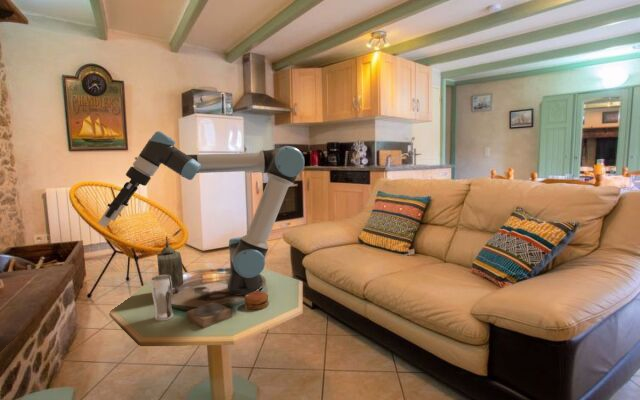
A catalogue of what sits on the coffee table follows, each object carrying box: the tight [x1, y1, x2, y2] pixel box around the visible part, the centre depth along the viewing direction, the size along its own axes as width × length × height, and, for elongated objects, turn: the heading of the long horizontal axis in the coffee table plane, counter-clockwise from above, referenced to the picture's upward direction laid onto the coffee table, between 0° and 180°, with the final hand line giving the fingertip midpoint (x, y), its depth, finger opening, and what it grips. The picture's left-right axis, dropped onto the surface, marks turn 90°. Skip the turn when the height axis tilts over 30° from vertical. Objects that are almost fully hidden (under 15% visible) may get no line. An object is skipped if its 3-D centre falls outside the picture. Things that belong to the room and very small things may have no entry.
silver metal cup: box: [150, 274, 174, 322], centre depth 130 cm, size 7×7×15 cm
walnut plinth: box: [186, 301, 232, 329], centre depth 129 cm, size 11×11×3 cm
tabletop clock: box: [156, 236, 184, 294], centre depth 153 cm, size 14×9×25 cm, turn 25°
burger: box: [243, 290, 270, 310], centre depth 139 cm, size 10×9×5 cm
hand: (106, 222), depth 125 cm, fingers open, 13 cm apart
